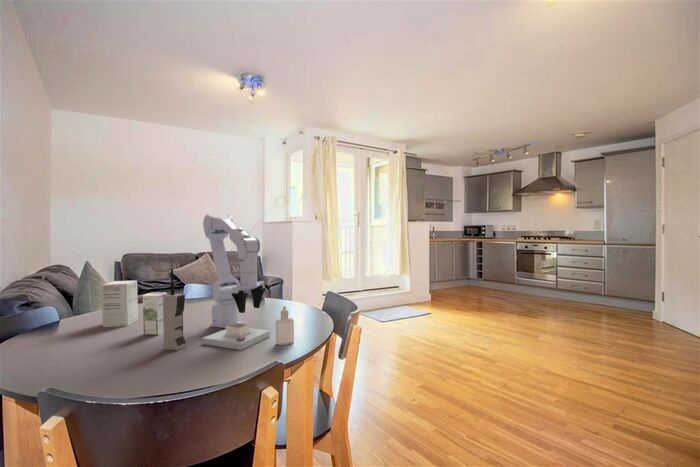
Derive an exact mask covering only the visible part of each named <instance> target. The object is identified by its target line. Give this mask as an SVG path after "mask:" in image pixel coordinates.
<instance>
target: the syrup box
mask: <svg viewBox="0 0 700 467" xmlns="http://www.w3.org/2000/svg"><path fill="white" fill-rule="evenodd" d="M166 295H168V293H167V292H149V293H145V294H143V295H142V316H143V317H142V320H143V321H142V322H143V335H144V336H160V335H162V334H164V324H163V296H166Z"/></svg>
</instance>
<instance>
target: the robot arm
mask: <svg viewBox="0 0 700 467" xmlns="http://www.w3.org/2000/svg"><path fill="white" fill-rule="evenodd" d="M202 227H203V232H204V235H205V236H204V237H205V238H206V239H208V240H209V244H210V249H211V253H212V256H213V258H212V259H213V261H214V265H215V270H216V275H217V280H215V282H214V283H213V284H212V287H211V288H212V298H213V301H214V302H215V303H214V304H213V305H212V306H211V323H212V324H210V327H214V328H215V327H216V328H222V329H226V326H228V325H229V324H232V323H241V324H244V321H239V313H240V314H244V313H246V307H247V306H246V303H247V302H246V301H247V299H248V295H249V293H247V292H246V291H249V290H250V292H251V297H252V306H253V308H254V309H259V308H260V306H261V302H262V298H263V296H264V293H265V291H266V287H265V281H263V280H260V281H258V254H259V252H260V249H261V243H260V240H259V239H258V238H257V237H253V236H252V237H251V236H250V235H249V234H248V233H247V232H246V231H245V230H244V228H242V227H237V226H236V225H235V224H234V223H233V217H232V216H230V215H229V214H227V215H225V214H224V215H221V214H220V215H219V214H218V215H217V214H216V215H215V214H206V215H205V216H204V217H203V222H202ZM226 238H229V240H230V241H231V242H232V243H233V244H234V245H235V246H236V251H237V254H238V258H237V259H238V260H239V265H240V266H239V268H240V272H239V274H240V277H239V278H240V280H239V279H237V278H236V277H234V276H233V275H232V272H231V269H230V264H229V263H230V262H229V259H228V256H227V255H228V254H227V251H226V247H225V246H226V245H225V242H224V239H226Z"/></svg>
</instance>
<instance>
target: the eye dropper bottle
mask: <svg viewBox="0 0 700 467" xmlns="http://www.w3.org/2000/svg"><path fill="white" fill-rule="evenodd" d="M294 322H295V320H294V319H293V318H292V317H291V316H289V309H287V306H286V305H283V306H282V309H281V310H280V317H278V318H277V319H276V321H275V343H276V345H278V346H286V345H291V344H293V343H295V325H294V324H295V323H294Z"/></svg>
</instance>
